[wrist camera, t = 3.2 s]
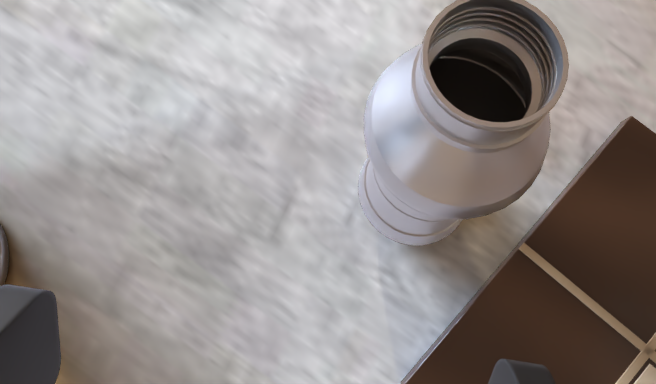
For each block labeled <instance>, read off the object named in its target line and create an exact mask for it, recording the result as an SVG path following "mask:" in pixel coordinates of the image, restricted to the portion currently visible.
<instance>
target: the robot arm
mask: <svg viewBox="0 0 656 384" xmlns="http://www.w3.org/2000/svg"><path fill="white" fill-rule="evenodd" d="M8 265H9V249H8V243H7V239H6V235H5V233H4V230H3V228H2V226H1V224H0V384H55V382H56V379H57V377H58V373H59V370H60V364H61V352H60V339H59V327H58V315H57V303H56V298H55V295H54V293H53V292H51V291H48V290H42V289H35V288H29V287H22V286H16V285H9V284H6V285H4V283H5V280H6V276H7V272H8ZM488 384H556V383H555V381H554V379H553V377H552V375H551V373H550V371H549V370H548V368H547V367H546V366H544V365H542V364H535V363H529V362H522V361H516V360H509V359H500V360H498V361H497V363H496V364H495V367H494V369H493V372H492V374H491V377H490V380H489V382H488Z"/></svg>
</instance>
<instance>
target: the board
mask: <svg viewBox="0 0 656 384" xmlns="http://www.w3.org/2000/svg"><path fill="white" fill-rule="evenodd" d="M500 359H509V360H516V361H522V362H529V363H535V364H542V365H544V366H546V367H547V368H548V370H549V371H550V373H551V375H552V377H553V379H554V381H555V383H556V384H656V134H655V133H654V132H653V131H651V130H650V129H649V128H647V127H646V126H645V125H643V124H642V123H640V122H639V121H638V120H636V119H635V118H634V117H632V116H630V117H629V118H627V119H625V120H624V121H622V122H621V123H620V124H619V125H618V127H617V128H616V129H615V130H614V131H613V132H612V134H611V135H610V136H609V137H608V138H607V139H606V141H605V142H604V143H603V144H602V145H601V147H600V148H599V149H598V150H597V151H596V152H595V154H594V155H593V156H592V157H591V158H590V160H589V161H588V162H587V163H586V164H585V165H584V167H583V168H582V169H581V170H580V171H579V173H578V174H577V175H576V176H575V177H574V178H573V180H572V181H571V182H570V183H569V184H568V186H567V187H566V188H565V189H564V190H563V191H562V193H561V194H560V195H559V196H558V197H557V198H556V200H555V201H554V202H553V203H552V204H551V206H550V207H549V208H548V209H547V210H546V211H545V213H544V214H543V215H542V216H541V217H540V219H539V220H538V221H537V222H536V223H535V224H534V226H533V227H532V228H531V229H530V230H529V232H528V233H527V234H526V235H525V236H524V237H523V239H522V240H521V241H520V242H519V243H518V244H517V246H516V247H515V248H514V249H513V250H512V252H511V253H510V254H509V255H508V256H507V257H506V259H505V260H504V261H503V262H502V263H501V265H500V266H499V267H498V268H497V269H496V270H495V272H494V273H493V274H492V275H491V276H490V278H489V279H488V280H487V281H486V282H485V283H484V285H483V286H482V287H481V288H480V289H479V290H478V292H477V293H476V294H475V295H474V296H473V298H472V299H471V300H470V301H469V302H468V303H467V305H466V306H465V307H464V308H463V309H462V311H461V312H460V313H459V314H458V315H457V316H456V318H455V319H454V320H453V321H452V322H451V324H450V325H449V326H448V327H447V328H446V329H445V331H444V332H443V333H442V334H441V335H440V337H439V338H438V339H437V340H436V341H435V342H434V344H433V345H432V346H431V347H430V348H429V349H428V351H427V352H426V353H425V354H424V355H423V357H422V358H421V359H420V360H419V361H418V362H417V364H416V365H415V366H414V367H413V368H412V370H411V371H410V372H409V373H408V374H407V375H406V377H405V378H404V379H403V380H402V381H401V384H488V382H489V380H490V377H491V374H492V372H493V369H494V367H495V364H496V363H497V361H498V360H500Z"/></svg>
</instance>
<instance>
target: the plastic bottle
mask: <svg viewBox="0 0 656 384" xmlns="http://www.w3.org/2000/svg"><path fill="white" fill-rule="evenodd" d="M568 68H569V63H568V53H567V50H566V46H565V43H564V40H563V38H562V36H561V35H560V33H559V31H558V29H557V27H556V26H555V25H554V24H553V23H552V21H551V20H550V19H549V18H548V17H547V16H546V15H545V14H544V13H543V12H541V11H540V10H539V9H538V8H537V7H535V6H533V5H531V4H530V3H528V2H526V1H524V0H457V1H455V2H454V3H452V4H451V5H449V6H447V7H446V8H445V9H444V10H443V11H442V12H441V13H439V14H438V15H437V16H436V18H435V19H434V21H433V22H432V24H431V25H430V27H429V28H428V30H427V32H426V34H425V36H424V39H423V41H422V44H420V45H417V46H415V47H413V48H412V49H410V50H408V51H407V52H405V53H404V54H402V55H401V56H400V57H398V58H397V59H396V60H395V61H394V62H393V63H392V64H391V65H390V66H389V67H388V68H387V69H386V70H384V71H383V72H382V74H381V75H380V77H379V78H378V80H377V81H376V83H375V84H374V86H373V88H372V90H371V92H370V95H369V97H368V100H367V103H366V108H365V114H364V136H365V143H366V148H367V152H368V156H369V157H368V158H367V160H366V161H365V163H364V164H363V167H362V169H361V172H360V176H359V181H358V195H359V200H360V204H361V207H362V209H363V211H364V214H365V215H366V217H367V218H368V220H369V221H370V223H371V224H372V225H373V226H374V227H375V228H376V229H377V230H378V231H379V232H380V233H382V234H383V235H385V236H386V237H388V238H389V239H392V240H394V241H396V242H399V243H403V244H407V245H426V244H432V243H434V242H437V241H439V240H442V239H443V238H445V237H446V236H448V235H449V234H451V233H452V232H453V231H454V230H455V229H456V228H457V227H458V225H459V224H460V222H461V221H462V220H463V219H469V218H475V217H480V216H484V215H488V214H491V213H493V212H496V211H499V210H501V209H504V208H505V207H507V206H508V205H510V204H511V203H513V202H514V201H516V200H517V199H519V198H520V197H521V196H522V195H523V194H524V193H525V192H526V191H527V190H528V189H529V188H530V186H531V185H532V184H533V182H534V180H535V179H536V177H537V175H538V174H539V172H540V170H541V167H542V164H543V161H544V159H545V156H546V153H547V149H548V146H549V138H550V130H551V129H550V118H549V111H550V110H551V109H552V108H553V107H554V106H555V104H556V103H557V101H558V99H559V98H560V96H561V94H562V92H563V90H564V87H565V84H566V81H567V77H568Z"/></svg>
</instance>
